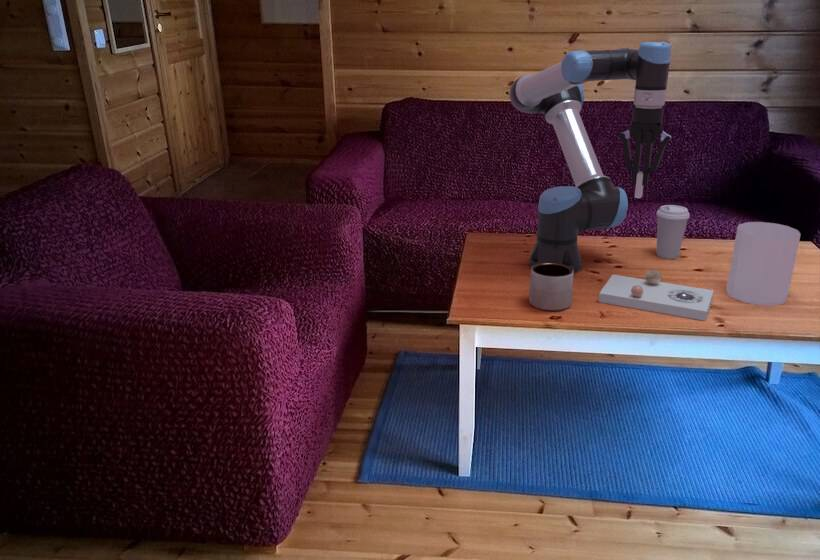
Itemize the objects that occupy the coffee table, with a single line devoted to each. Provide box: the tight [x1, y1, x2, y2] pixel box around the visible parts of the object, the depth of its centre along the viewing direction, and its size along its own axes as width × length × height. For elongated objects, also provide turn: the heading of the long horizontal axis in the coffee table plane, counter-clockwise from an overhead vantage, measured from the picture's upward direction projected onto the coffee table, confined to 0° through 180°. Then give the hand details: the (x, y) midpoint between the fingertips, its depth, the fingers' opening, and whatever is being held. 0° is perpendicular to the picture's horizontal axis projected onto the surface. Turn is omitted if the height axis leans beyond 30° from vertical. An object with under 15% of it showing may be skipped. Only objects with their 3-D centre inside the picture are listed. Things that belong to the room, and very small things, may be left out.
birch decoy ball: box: [644, 268, 662, 284], centre depth 179 cm, size 4×4×4 cm
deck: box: [598, 274, 715, 322], centre depth 175 cm, size 26×15×2 cm, turn 61°
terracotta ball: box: [631, 285, 643, 297], centre depth 171 cm, size 3×3×3 cm
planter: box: [528, 262, 575, 312], centre depth 173 cm, size 11×11×10 cm
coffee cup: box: [655, 204, 691, 260], centre depth 205 cm, size 10×10×15 cm
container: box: [725, 221, 801, 307], centre depth 175 cm, size 14×14×18 cm
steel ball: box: [676, 292, 691, 300], centre depth 172 cm, size 4×4×4 cm
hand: (638, 196), depth 179 cm, fingers closed
